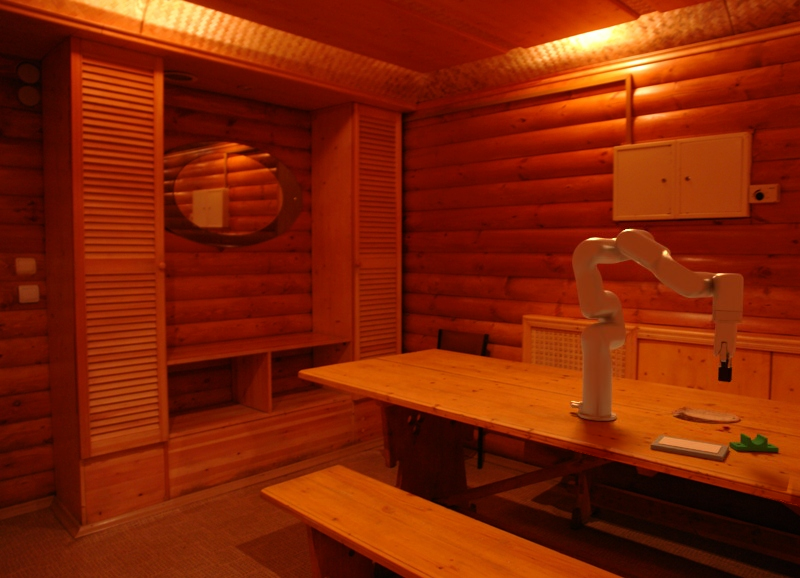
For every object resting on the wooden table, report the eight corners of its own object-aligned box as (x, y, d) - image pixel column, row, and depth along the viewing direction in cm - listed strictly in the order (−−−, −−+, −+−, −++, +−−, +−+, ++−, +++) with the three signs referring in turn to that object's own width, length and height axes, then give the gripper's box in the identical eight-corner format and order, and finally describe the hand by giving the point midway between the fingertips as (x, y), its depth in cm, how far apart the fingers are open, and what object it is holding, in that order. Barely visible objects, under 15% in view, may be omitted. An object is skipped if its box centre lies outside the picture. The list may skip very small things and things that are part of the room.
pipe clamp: (770, 434, 172) (779, 438, 167) (770, 447, 172) (778, 452, 167) (729, 432, 173) (737, 437, 168) (729, 445, 173) (736, 450, 168)
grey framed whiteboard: (650, 448, 170) (650, 443, 170) (660, 438, 180) (660, 434, 180) (722, 461, 160) (722, 455, 159) (728, 450, 169) (728, 445, 169)
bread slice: (747, 424, 198) (747, 413, 198) (712, 431, 190) (712, 419, 190) (698, 412, 214) (698, 402, 214) (663, 418, 206) (663, 407, 205)
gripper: (715, 314, 180) (713, 375, 181) (708, 317, 167) (706, 383, 168) (744, 315, 176) (742, 378, 177) (739, 319, 163) (737, 387, 164)
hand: (724, 380), depth 172 cm, fingers closed
